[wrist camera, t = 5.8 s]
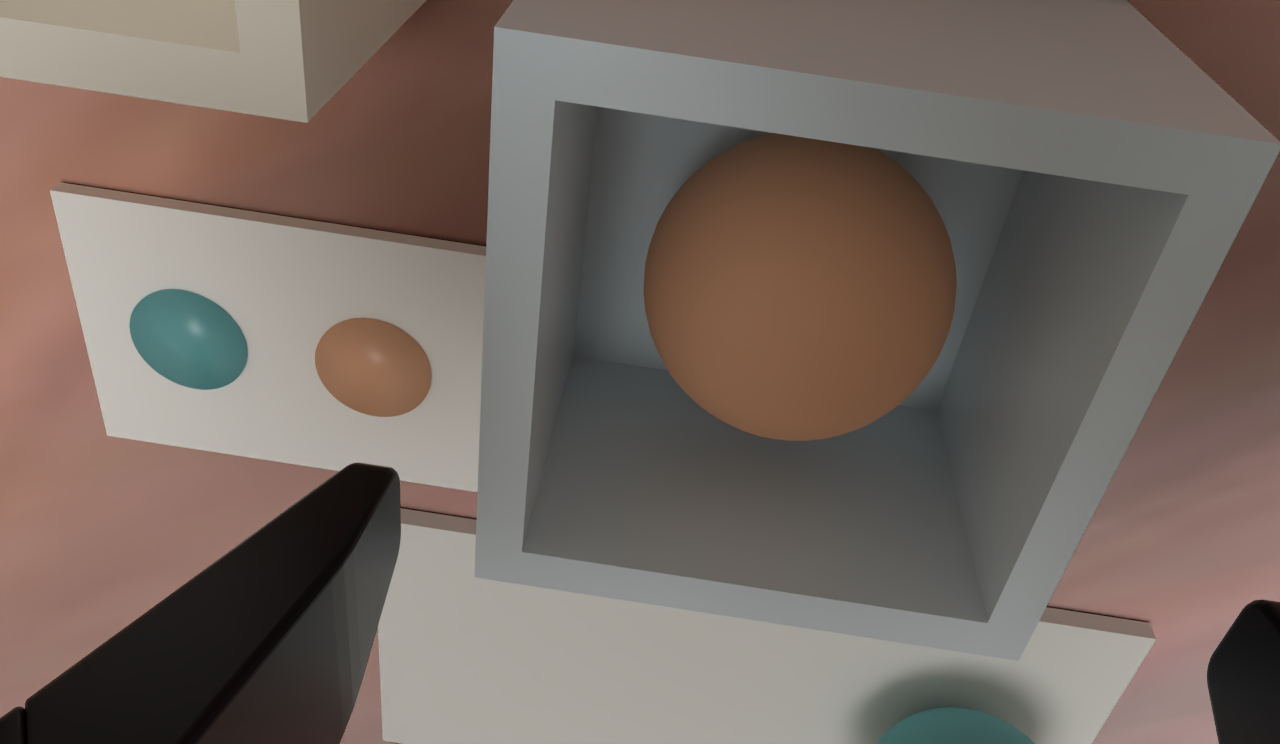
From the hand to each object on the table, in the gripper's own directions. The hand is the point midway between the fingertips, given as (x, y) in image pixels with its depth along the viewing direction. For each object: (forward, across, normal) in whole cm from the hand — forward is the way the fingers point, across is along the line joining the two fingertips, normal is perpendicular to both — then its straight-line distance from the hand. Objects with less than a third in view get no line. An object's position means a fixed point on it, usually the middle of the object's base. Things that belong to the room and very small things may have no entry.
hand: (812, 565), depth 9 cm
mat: (+8, -1, +11) cm, 13 cm away
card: (+8, +8, +4) cm, 12 cm away
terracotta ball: (+5, 0, 0) cm, 5 cm away
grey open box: (+8, 0, 0) cm, 8 cm away
